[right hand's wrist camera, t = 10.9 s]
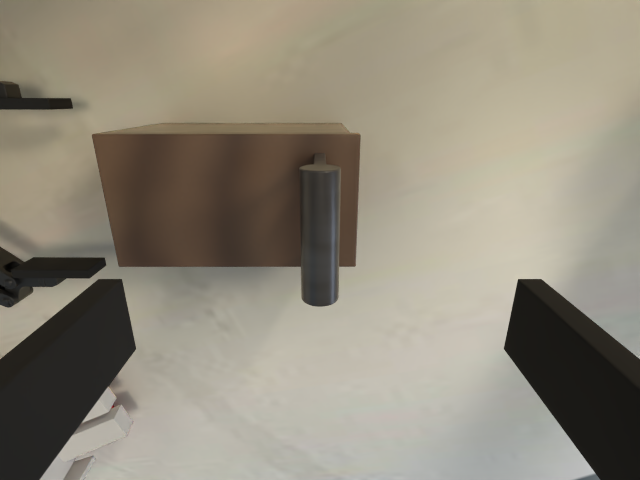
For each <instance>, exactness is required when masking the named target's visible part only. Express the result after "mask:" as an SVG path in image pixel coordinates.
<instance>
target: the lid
mask: <svg viewBox="0 0 640 480" xmlns="http://www.w3.org/2000/svg"><path fill="white" fill-rule="evenodd" d="M92 138H93V143H94V148H95V153H96V157H97V162H98V167H99V172H100V177H101V182H102V187H103V192H104V196H105V201H106V206H107V211H108V216H109V221H110V226H111V231H112V235H113V240H114V245H115V250H116V255H117V260H118V265H119V267H301V292H302V300H303V301H304V302H305V303H307V304H309V305H312V306H328V305H331V304H333V303H335V302H336V301H337V300H338V292H339V267H355V266H356V243H357V216H358V188H359V160H360V134H359V133H97V134H92Z"/></svg>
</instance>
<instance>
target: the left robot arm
mask: <svg viewBox="0 0 640 480" xmlns="http://www.w3.org/2000/svg"><path fill="white" fill-rule="evenodd" d="M0 109H73V107H72V102H71V98H22V97H21V93H20V89H19V85H18V84H15V83H13V82H3V81H0ZM105 266H106V261H105V258H51V257H33V258H32V259H30V260H28V261H26V262H23V261H22V260H20V259H19V258H17V257H16V256H14V255H12V254H11V253H9V252H8V251H6V250H5V249H3V248H1V247H0V305H2V306H5V307H12V306H13V305H15V304H16V303H18V302H19V301H21V300H22V299H24V298H25V297H27V296H28V295H30V294H31V293H32V292H33V287H53V286H56V285H58V284H59V283H61V282H62V281H63V280H65V279H66V278H91V277H92V276H93V275H94V274H96V273H97V272H98V271H100V270H101V269H102V268H103V267H105Z"/></svg>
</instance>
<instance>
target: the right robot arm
mask: <svg viewBox="0 0 640 480" xmlns="http://www.w3.org/2000/svg"><path fill="white" fill-rule="evenodd" d="M135 350H136V346H135V341H134V336H133V331H132V326H131V322H130V317H129V312H128V307H127V302H126V297H125V292H124V287H123V282H122V279H98V280H97V281H96V282H95V283H93V284H92V285H91V286H90V287H89V288H87V289H86V290H85V291H84V292H82V293H81V294H80V295H79V296H77V297H76V298H75V299H74V300H73V301H71V302H70V303H69V304H68V305H66V306H65V307H64V308H63V309H62V310H60V311H59V312H58V313H57V314H55V315H54V316H53V317H52V318H50V319H49V320H48V321H47V322H46V323H44V324H43V325H42V326H41V327H39V328H38V329H37V330H36V331H34V332H33V333H32V334H31V335H30V336H28V337H27V338H26V339H25V340H23V341H22V342H21V343H20V344H19V345H17V346H16V347H15V348H14V349H12V350H11V351H10V352H9V353H7V354H6V355H5V356H4V357H3V358H1V359H0V480H40V479H41V477H42V476H43V474H44V473H45V472H46V470H47V469H48V468H49V466H50V465H51V464H52V462H53V461H54V460H55V458H56V457H57V455H58V454H59V453H60V451H61V450H62V449H63V447H64V446H65V445H66V443H67V442H68V441H69V439H70V438H71V436H72V435H73V434H74V432H75V431H76V430H77V428H78V427H79V426H80V424H81V423H82V422H83V420H84V419H85V417H86V416H87V415H88V413H89V412H90V411H91V409H92V408H93V407H94V405H95V404H96V402H97V401H98V400H99V398H100V397H101V396H102V394H103V393H104V392H105V390H106V389H107V388H108V386H109V385H110V383H111V382H112V381H113V379H114V378H115V377H116V375H117V374H118V373H119V371H120V370H121V369H122V367H123V366H124V364H125V363H126V362H127V360H128V359H129V358H130V356H131V355H132V354H133V352H134V351H135ZM504 350H505V351H506V352H507V354H508V355H509V356H510V358H511V359H512V360H513V362H514V363H515V364H516V366H517V367H518V369H519V370H520V371H521V373H522V374H523V375H524V377H525V378H526V379H527V381H528V382H529V384H530V385H531V386H532V388H533V389H534V390H535V392H536V393H537V394H538V396H539V397H540V398H541V400H542V401H543V403H544V404H545V405H546V407H547V408H548V409H549V411H550V412H551V413H552V415H553V416H554V417H555V419H556V420H557V422H558V423H559V424H560V426H561V427H562V428H563V430H564V431H565V432H566V434H567V435H568V436H569V438H570V439H571V441H572V442H573V443H574V445H575V446H576V447H577V449H578V450H579V451H580V453H581V454H582V455H583V457H584V458H585V460H586V461H587V462H588V464H589V465H590V466H591V468H592V469H593V470H594V472H595V473H596V474H597V476H598V477H599V479H600V480H640V359H639V358H637V357H636V356H635V355H634V354H633V353H631V352H630V351H629V350H628V349H626V348H625V347H624V346H623V345H621V344H620V343H619V342H618V341H617V340H615V339H614V338H613V337H612V336H610V335H609V334H608V333H607V332H606V331H604V330H603V329H602V328H601V327H599V326H598V325H597V324H596V323H594V322H593V321H592V320H591V319H590V318H588V317H587V316H586V315H585V314H583V313H582V312H581V311H580V310H578V309H577V308H576V307H575V306H574V305H572V304H571V303H570V302H569V301H567V300H566V299H565V298H564V297H563V296H561V295H560V294H559V293H558V292H556V291H555V290H554V289H553V288H551V287H550V286H549V285H548V284H547V283H545V282H544V281H543V280H542V279H518V282H517V287H516V292H515V297H514V302H513V307H512V312H511V317H510V322H509V326H508V331H507V336H506V341H505V346H504Z"/></svg>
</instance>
